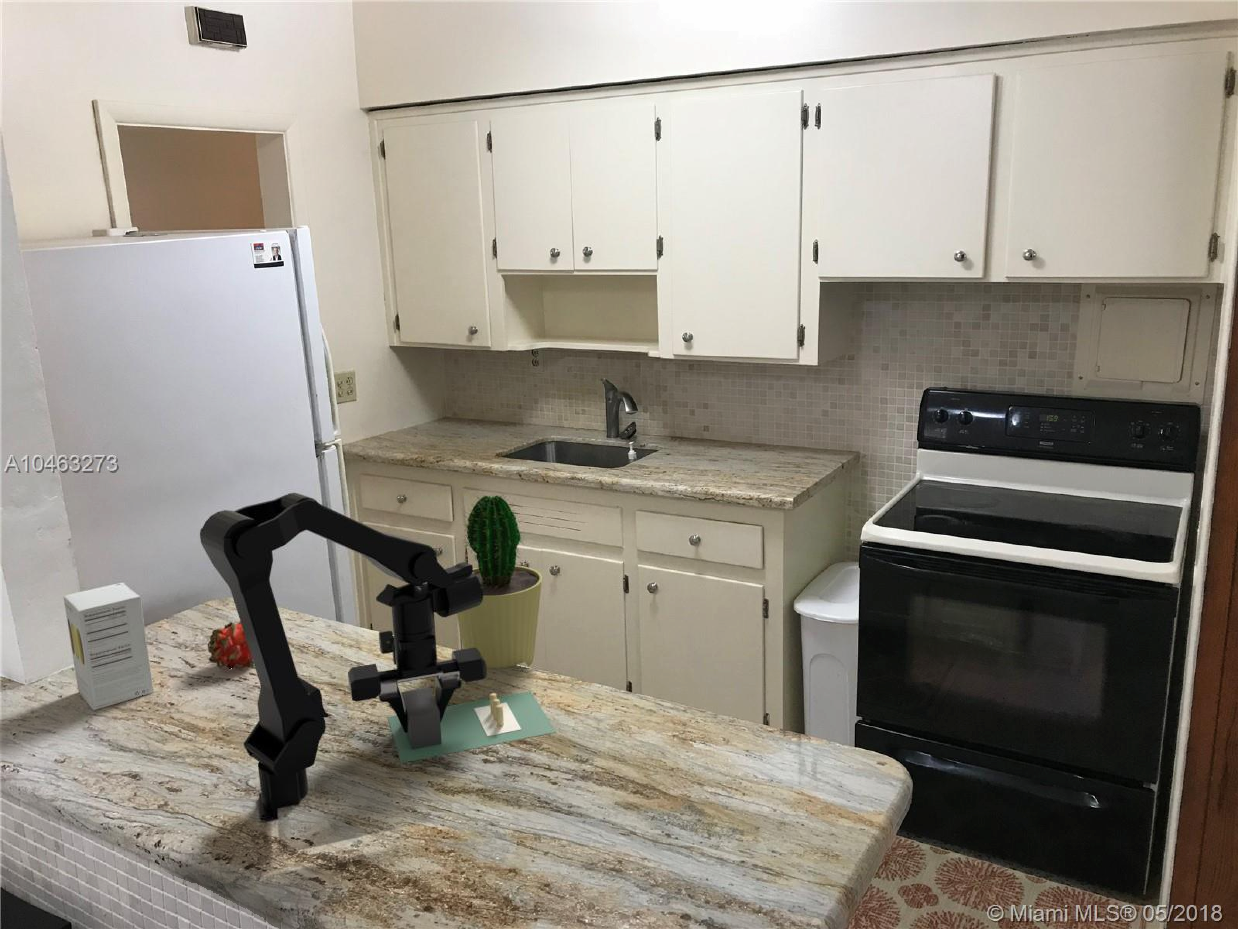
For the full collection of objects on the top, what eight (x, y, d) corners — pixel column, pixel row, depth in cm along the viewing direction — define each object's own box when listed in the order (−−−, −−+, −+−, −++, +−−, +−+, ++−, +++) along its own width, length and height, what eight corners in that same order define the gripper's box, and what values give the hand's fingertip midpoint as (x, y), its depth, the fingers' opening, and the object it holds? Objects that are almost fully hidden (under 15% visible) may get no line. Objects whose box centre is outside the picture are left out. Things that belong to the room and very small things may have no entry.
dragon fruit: (208, 687, 163) (260, 668, 174) (240, 664, 160) (291, 646, 171) (185, 643, 164) (238, 627, 175) (216, 619, 161) (268, 604, 172)
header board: (556, 741, 140) (555, 712, 139) (401, 772, 133) (399, 742, 132) (531, 699, 153) (529, 673, 152) (388, 726, 145) (386, 698, 144)
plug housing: (441, 744, 137) (439, 711, 136) (411, 750, 136) (409, 717, 134) (428, 709, 147) (426, 678, 146) (400, 714, 146) (398, 683, 145)
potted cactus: (560, 649, 171) (554, 484, 164) (520, 686, 157) (511, 507, 150) (483, 638, 177) (473, 477, 170) (438, 673, 163) (426, 500, 156)
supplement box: (76, 692, 159) (61, 595, 155) (136, 674, 165) (123, 580, 161) (93, 712, 152) (77, 610, 148) (155, 693, 158) (141, 595, 154)
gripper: (468, 597, 147) (474, 693, 150) (340, 616, 141) (349, 715, 144) (484, 624, 137) (490, 725, 140) (347, 645, 130) (357, 751, 134)
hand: (421, 728), depth 140 cm, fingers closed on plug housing, 4 cm apart
